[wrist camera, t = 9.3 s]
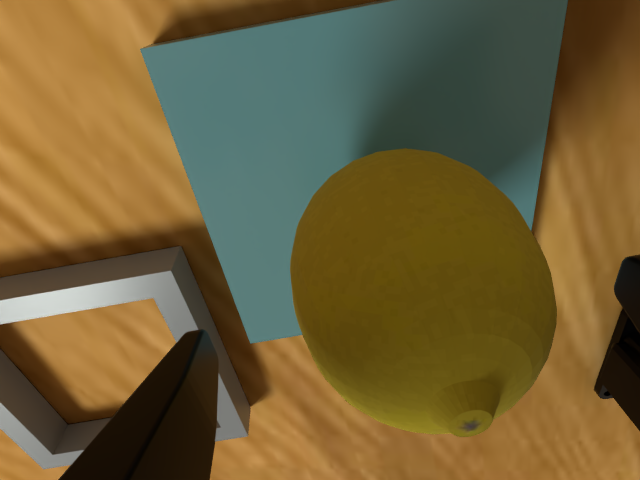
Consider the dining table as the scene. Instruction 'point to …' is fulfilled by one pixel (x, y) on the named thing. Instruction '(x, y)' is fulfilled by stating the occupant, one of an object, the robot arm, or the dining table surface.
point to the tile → (349, 116)
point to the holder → (92, 292)
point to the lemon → (422, 292)
